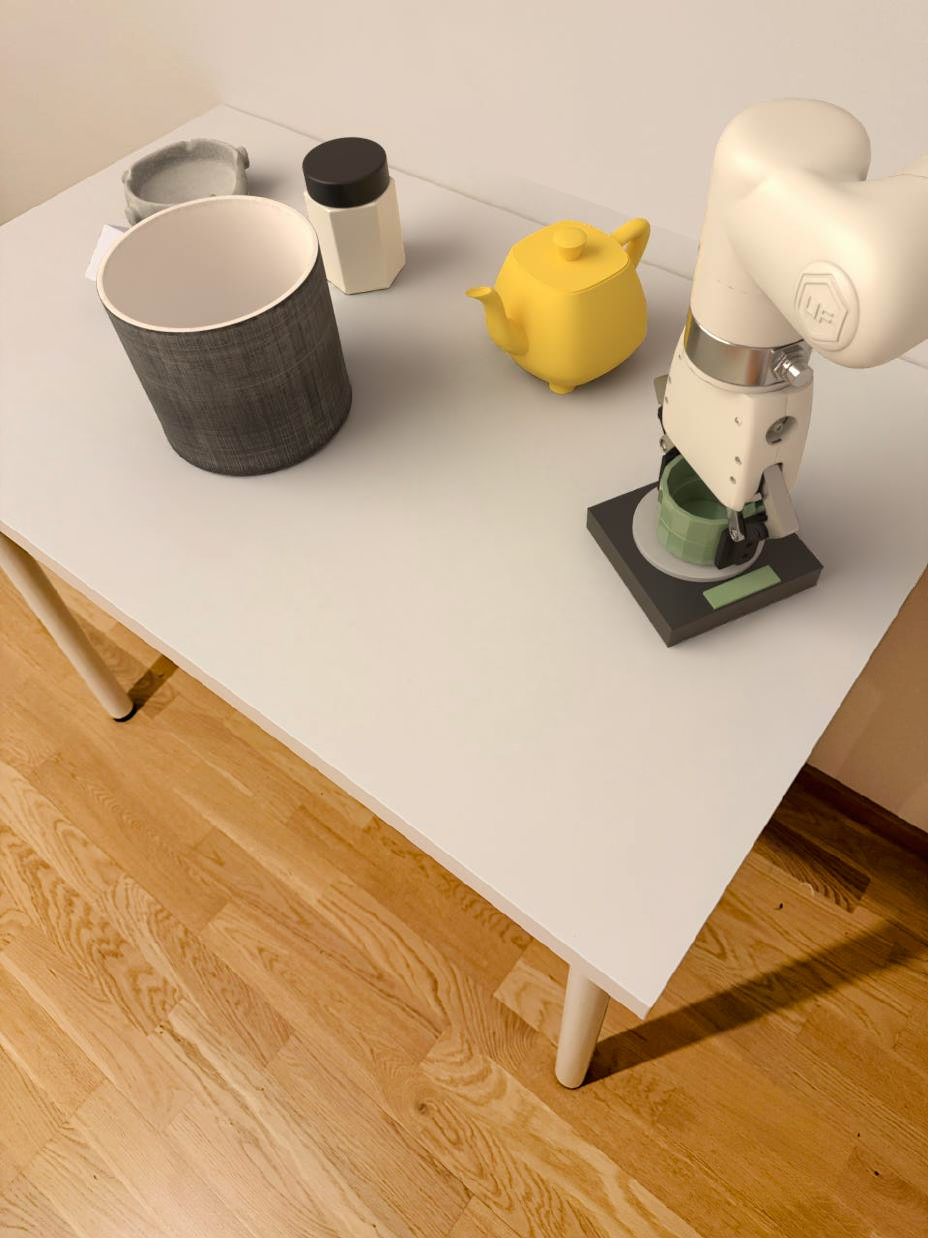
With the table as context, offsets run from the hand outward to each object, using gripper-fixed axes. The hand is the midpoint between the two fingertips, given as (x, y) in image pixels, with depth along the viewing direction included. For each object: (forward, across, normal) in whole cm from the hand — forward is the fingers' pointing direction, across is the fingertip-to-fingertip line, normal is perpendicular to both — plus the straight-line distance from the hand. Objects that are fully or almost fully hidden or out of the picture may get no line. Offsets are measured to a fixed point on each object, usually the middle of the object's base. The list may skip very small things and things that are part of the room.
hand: (704, 521), depth 68 cm
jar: (+4, +48, +11) cm, 49 cm away
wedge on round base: (+4, +53, +31) cm, 61 cm away
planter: (+4, +33, +27) cm, 43 cm away
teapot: (+4, +26, -1) cm, 26 cm away
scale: (+4, 0, 0) cm, 4 cm away
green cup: (+1, 0, 0) cm, 1 cm away
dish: (+4, +68, +25) cm, 72 cm away
